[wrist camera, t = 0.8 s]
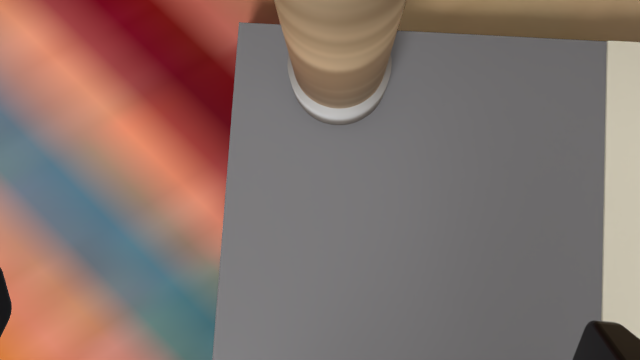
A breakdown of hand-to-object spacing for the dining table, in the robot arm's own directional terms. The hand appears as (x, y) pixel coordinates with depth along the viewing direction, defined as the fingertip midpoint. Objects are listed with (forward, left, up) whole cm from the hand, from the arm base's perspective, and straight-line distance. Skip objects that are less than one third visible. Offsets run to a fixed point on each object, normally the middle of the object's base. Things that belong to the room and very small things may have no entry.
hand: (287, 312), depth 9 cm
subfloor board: (+1, -6, -13) cm, 15 cm away
